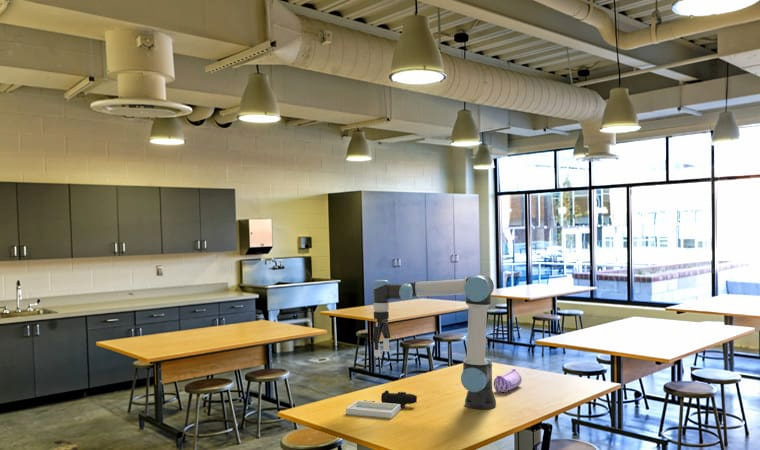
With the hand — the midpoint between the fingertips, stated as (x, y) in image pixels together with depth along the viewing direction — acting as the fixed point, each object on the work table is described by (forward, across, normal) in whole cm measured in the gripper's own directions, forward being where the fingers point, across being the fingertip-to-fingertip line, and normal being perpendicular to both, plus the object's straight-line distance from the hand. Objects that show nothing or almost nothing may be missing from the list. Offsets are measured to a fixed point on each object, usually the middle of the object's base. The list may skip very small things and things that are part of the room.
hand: (381, 353), depth 298 cm
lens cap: (+26, +2, -6) cm, 26 cm away
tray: (+25, +14, +1) cm, 29 cm away
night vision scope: (+26, +1, +9) cm, 27 cm away
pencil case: (+26, -50, +56) cm, 79 cm away
